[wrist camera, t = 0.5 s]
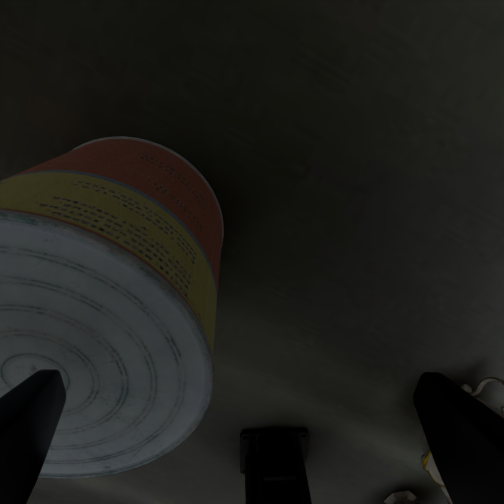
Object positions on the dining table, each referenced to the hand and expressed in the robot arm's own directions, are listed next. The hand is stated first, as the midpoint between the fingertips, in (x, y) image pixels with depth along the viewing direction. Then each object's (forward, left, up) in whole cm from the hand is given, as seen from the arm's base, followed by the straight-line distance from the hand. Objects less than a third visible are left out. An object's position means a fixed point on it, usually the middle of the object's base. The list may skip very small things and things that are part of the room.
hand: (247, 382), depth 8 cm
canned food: (-2, +7, -14) cm, 16 cm away
